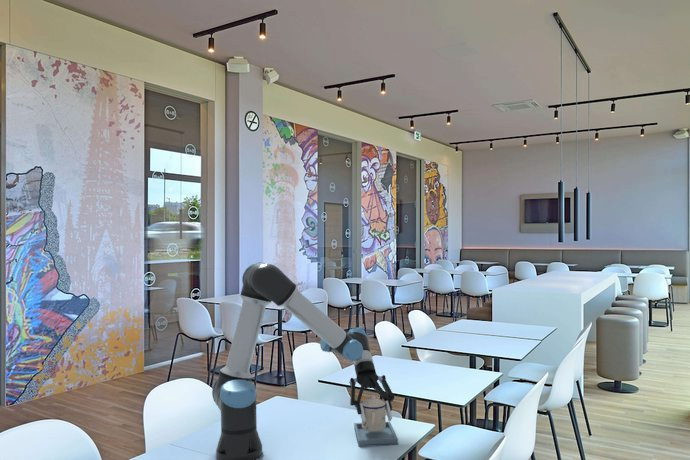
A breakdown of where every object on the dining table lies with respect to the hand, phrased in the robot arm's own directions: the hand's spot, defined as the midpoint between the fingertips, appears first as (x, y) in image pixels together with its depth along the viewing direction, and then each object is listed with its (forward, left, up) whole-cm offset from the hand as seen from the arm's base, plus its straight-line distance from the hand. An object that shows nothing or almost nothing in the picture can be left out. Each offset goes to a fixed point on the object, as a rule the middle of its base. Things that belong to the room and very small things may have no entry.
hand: (377, 420), depth 183 cm
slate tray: (-1, +3, -7) cm, 7 cm away
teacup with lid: (-1, +3, -4) cm, 5 cm away
